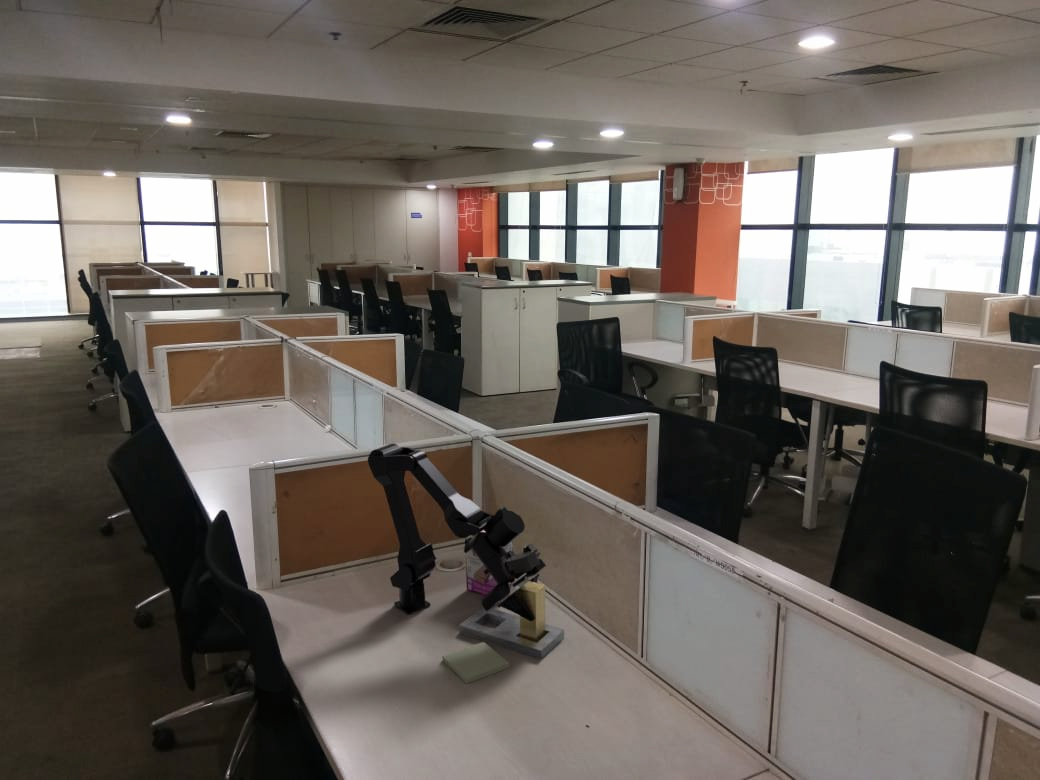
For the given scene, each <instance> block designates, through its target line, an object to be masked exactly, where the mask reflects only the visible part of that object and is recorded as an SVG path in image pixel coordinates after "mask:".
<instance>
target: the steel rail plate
mask: <svg viewBox="0 0 1040 780" xmlns="http://www.w3.org/2000/svg"><path fill="white" fill-rule="evenodd" d="M487 622H490V623H492V624H496V625H498V626H496V627H495V628H490V627H487V626H484V624H486V623H487ZM458 631H459V634H461V635H463V636H467V637H470V638H473V639H475V640H476V639H477V640H480V641H482V642H485V643H488V644H491V645H495V646H499V647H502V648H504V649H508V650H511V651H514V652H517V653H520V654H522V655H527V656H529V657H533V658H535V659H538V660H542V659H543V658H544V657H546V656H547V655H548V654H549V653H550V652H551V651H552V650H553V649H554V648H555V647H557V645H558V644H560V643H561V642H562V641H563V640H564V639H565V629H563V628H560V627H557V626H553V625H549V624H546V623H545V636H544V637H543V638H542V639H541V640H540V641H539V642H538V643H537V642H533V641H530V640H527V639H524V638H520V615H517V614H512V613H509V612H505V611H502V610H499V609H496V608H493V607H492V608H491V609H490V610H488V611H487V612H486V610H485V609H484V608H483V607H482V608H480V609H479V610H478V611H475V613H473V614H472V615H470V616H469V617H468V618H467V619H465V620H464V621H463V622H461V623H460V624H458Z"/></svg>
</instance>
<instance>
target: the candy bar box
mask: <svg viewBox="0 0 1040 780" xmlns="http://www.w3.org/2000/svg"><path fill="white" fill-rule="evenodd" d="M481 532H485V530H483V531H481ZM479 533H480V532H479ZM476 535H477V534H476ZM476 535H470V536H468V537H466V538H464V539H465V540H466V539H468V538H470V537H471V538H474V537H475V536H476ZM465 540H464V541H465ZM513 541H514V540H513ZM513 541H512V542H510V543H509V544H508V545H507V546H505V547H504V549H505V550H506V551H507V552H508V551H510V550H511V551H513V549H514V548H513ZM513 552H514V551H513ZM465 570H466V571H465V572H466V574H465V575H466V577H465V578H466V580H465V581H466V591H469V592H471V593H472V592H473V593H476V594H478V595H482V596H485V595H486V594H488V593H489V592H490V591H491V590H492V589H493V588H495V586H496V585H498V584H497V582H496V581H495V580H494V578H493V577H492V575H491V574H490V573H489V574H487V575H486V574H485V573H484V572H483V571H484V570H486V567H485V566H484V565H483V563H482V562H481V561H480V559H479V558H478V557H477V555H476V554H475V552H474V551H473V550H470V551H468V552H467V553H465ZM508 584H511V583H508Z"/></svg>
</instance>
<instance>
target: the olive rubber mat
mask: <svg viewBox="0 0 1040 780" xmlns="http://www.w3.org/2000/svg"><path fill="white" fill-rule="evenodd" d="M442 662H443V663H444V664H446V665H447V667H448V668H450V670H451V671H453V672H454V673H455V674H456V675H457V676H458V677H459V678H460V679H461V680H462V681H463V682H465V684H468V683H469V684H470V683H472V682H474V681H477V680H479V679H481V678H484V677H487V676H490V675H493V674H495V673H497V672H500V671H503V670H505V669H508V668H510V662H508V661H507V660H506V659H505V658H504V657H502V656H501V655H500V654H499V653H498V652H496V651H495V650H494V649H493V648H492V647H491V646H490V645H488V644H487V642H485V641H482V642H480V643H476V644H473V645H470V646H468V647H465V648H462V649H459V650H457V651H453V652H451V653H448V654H444V655H442Z"/></svg>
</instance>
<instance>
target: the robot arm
mask: <svg viewBox="0 0 1040 780" xmlns="http://www.w3.org/2000/svg"><path fill="white" fill-rule="evenodd" d="M367 463H368V466H369V469H370V471H371V473H372V476H373V478H374V479H375V480H376V482H378V483H379V484H380V485H381V486H382V487H383V490H384V494H385V497H386V501H387V503H388V508H389V511H390V514H391V515H390V516H391V518H392V521H393V524H394V529H395V532H396V535H397V539H398V542H399V549H398V552H397V558H396V559H397V564H398V570H397V571H396V572H395V573H393V574H392V576H390V578H389V579H390V580H389V581H390V584H391V586H392V587H394V588H397V589H398V593H399V595H398V597H399V600H398V601H395V602H394V603H393V605H394V606H395V607H396V608H398V609H399V610H401V611H403V612H404V613H405V614H407V615H410V614H412V613H415V612H418V611H420V610H421V611H422V610H423V609H426V608H428V607H431V603H430V602H429V601H427V600H426V592H425V582H424V580H425V579H428V578H429V577H430V576H431V574H432V573H431V572H433V571H434V569H435V567H436V560H437V556H436V555H435V553H434V548H433V545H432V543H430V542H429V543H428V544H427V543H426V542H425V541H424V540H423V539H422V538H421V535H420V533H419V529H418V525H417V522H416V518H415V515H414V512H413V511H414V510H413V507H412V503H411V499H410V496H409V493H408V490H407V486H406V483H405V475H406V471H407V472H410V473H411V474H412V476H413V477H414V478H415V479H416V480H417V482H418V483H419V484H420V485H421V486H422V487H423V489H424V490H425V491H426V492H427V493H428V495H429V496H430V497H431V498H432V499H433V501H434V502H436V505H438V506H439V507H440V509H441V510H442V513H443V517H444V522H445V523H446V524H447V527H448V528H449V529H450V530H451V532H452V533H453V535H454V536H456V538H459V539H460V538H462V539H465V538H466V537H468V536H470V535H476V534H477V535H476V536H475V537H474V538H471V537H470V538H468V539H466V540H464V547H463V553H465V554H466V553H467V552H468V551H470V550H473V551H474V552H475V554H476V555H477V557H478V558H479V559H480V561H481V562H482V563H483V565H484V566H485V567H486V570H484V571H483V572H484V573H485V574H486V575H487V574H489V573H490V574H491V575H492V577H493V578H494V580H495V581H496V582H497V584H498V585H496V586H495V588H493V589H492V590H491V591H490V592H489V593H488V594H486V595H483V597H482V598H481V599H480V603H481V606H482V608H484V609H485V610H486V612H487V611H488V610H490V609H491V608H492V609H493V607H495V606H496V605H497V603H499V604H498V605H497V608H503V609H506V610H507V611H510V612H511V613H514V614H515V615H517V616H522V617H523V618H525V619H527V620H529V621H533V620H534V619H535V618H534V616H533V614H532V612H531V611H530V609H529V608H528V606H527V605H526V603H525V602H524V600H523V599H522V597H521V589H520V588H521V587H522V586H523V585H524V584H526V583H527V582H528V581H531V582H535V583H538V579H539V577H540V573H539V572H540V571H542V570H543V569H544V568H545V567H546V566H547V565H546V563H545V562H544V560H542V559H541V558H539V557H540V555H541V552H540V551H538V548H537V547H536V546H534V544H532V543H531V544H528V545H526V546H524V547H523V552H520V553H518V554H515V552H514V551H511V550H510V551H508V552H507V551H506V550H505V549H504V547H505V546H507V545H508V544H509V543H510V542H512V541H514V540H515V539H516V538H518V537H519V536H520V535H521V534H522V533H523V532H524V531H525V522H524V520H523V518H522V516H520V515H519V514H517V512H514V511H513V510H508V509H507V507H505V506H503V507H501V508H499V509H497V511H496V512H495V514H492V513H489V512H487V511H484V510H483V509H481V508H480V507H479V506H478V505H477V504H476V503H474V502H473V501H472V499H469V498H466V497H464V496H462V495H460V493H458V491H456V490H455V488H454V487H453V486H452V485H451V483H450V482H449V481H448V480H447V479H446V477H444V475H443V474H442V473H441V472H440V471H439V470H438V469H437V468H436V466H435V465H434V464H433V463H432V462H431V460H429V458H428V455H427V453H426V452H425V451H424V450H420V449H419V450H418V449H414V448H412V447H408V446H407V447H406V446H400V445H398V444H397V443H389V444H387V445H383V446H381V447H379V448H375V449H373V450H371V451H370V453H369V455H368V456H367ZM483 530H485V532H481V531H483ZM479 532H480V533H479ZM508 583H511V584H508ZM517 586H518V587H519V588H518V589H516V587H517Z"/></svg>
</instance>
